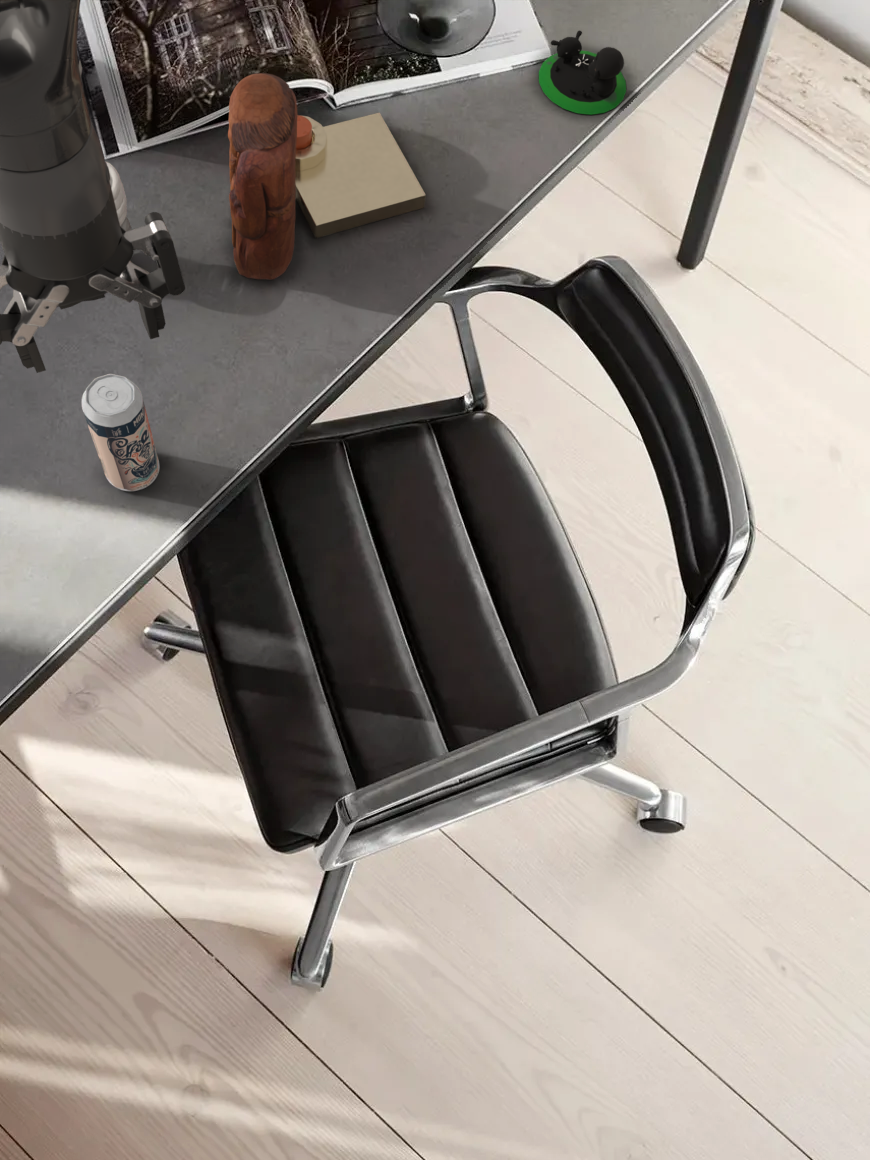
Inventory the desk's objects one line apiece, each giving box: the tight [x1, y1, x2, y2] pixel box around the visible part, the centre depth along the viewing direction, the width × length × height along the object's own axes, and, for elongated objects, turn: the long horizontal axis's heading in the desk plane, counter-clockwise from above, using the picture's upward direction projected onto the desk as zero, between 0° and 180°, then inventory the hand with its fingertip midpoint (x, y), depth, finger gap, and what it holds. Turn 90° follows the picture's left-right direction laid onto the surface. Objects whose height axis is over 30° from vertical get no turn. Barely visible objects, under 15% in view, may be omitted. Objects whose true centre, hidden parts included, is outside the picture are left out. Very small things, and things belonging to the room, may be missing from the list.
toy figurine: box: [538, 30, 627, 116], centre depth 123 cm, size 10×10×6 cm
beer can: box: [81, 373, 160, 492], centre depth 95 cm, size 5×5×12 cm
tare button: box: [296, 114, 312, 150], centre depth 113 cm, size 3×3×2 cm
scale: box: [295, 112, 427, 239], centre depth 115 cm, size 13×13×4 cm
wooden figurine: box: [227, 72, 298, 280], centre depth 104 cm, size 12×6×18 cm, turn 179°
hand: (94, 346), depth 83 cm, fingers open, 8 cm apart
